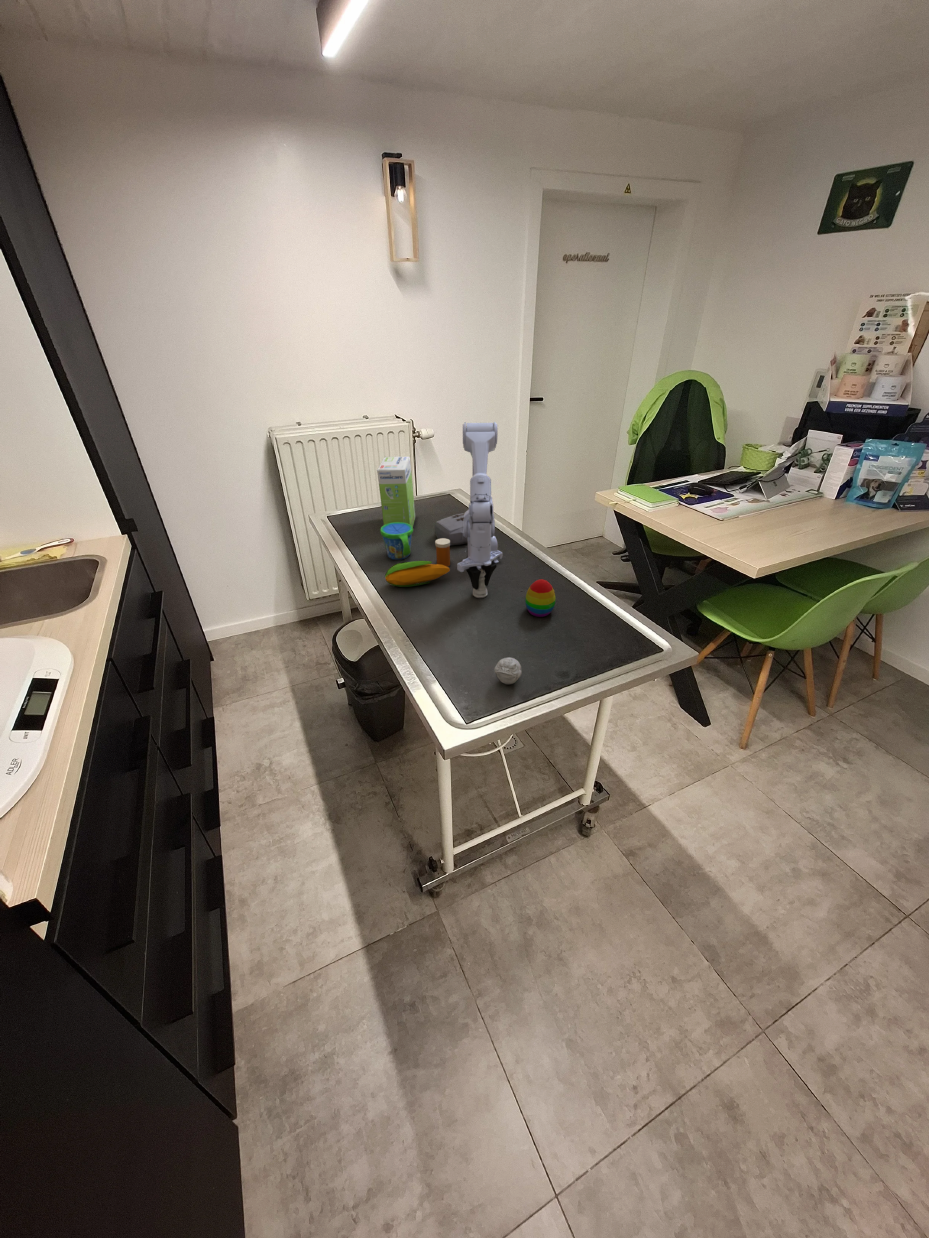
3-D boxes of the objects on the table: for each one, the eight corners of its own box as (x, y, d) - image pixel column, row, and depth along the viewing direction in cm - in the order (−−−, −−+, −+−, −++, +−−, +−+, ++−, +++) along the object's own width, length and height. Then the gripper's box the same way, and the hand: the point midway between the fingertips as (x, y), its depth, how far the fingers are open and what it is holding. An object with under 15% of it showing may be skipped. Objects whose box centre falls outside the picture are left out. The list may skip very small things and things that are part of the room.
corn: (381, 559, 146) (446, 551, 150) (384, 581, 150) (446, 572, 155) (385, 572, 140) (452, 562, 145) (388, 594, 145) (452, 584, 149)
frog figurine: (490, 688, 109) (490, 664, 105) (499, 670, 114) (500, 646, 110) (516, 695, 107) (517, 670, 103) (524, 676, 112) (526, 652, 108)
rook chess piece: (482, 600, 140) (483, 575, 136) (469, 596, 142) (469, 572, 138) (490, 593, 144) (491, 569, 139) (477, 589, 146) (477, 565, 141)
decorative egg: (558, 618, 132) (561, 586, 127) (529, 621, 131) (531, 589, 126) (548, 602, 139) (552, 572, 134) (521, 605, 138) (523, 574, 132)
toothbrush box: (390, 517, 194) (384, 455, 181) (415, 517, 194) (411, 455, 181) (383, 535, 180) (376, 469, 166) (411, 535, 180) (406, 469, 166)
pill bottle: (445, 559, 163) (444, 536, 158) (453, 564, 159) (453, 542, 155) (433, 563, 160) (432, 540, 156) (441, 568, 157) (440, 545, 152)
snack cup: (421, 562, 161) (419, 534, 155) (390, 568, 157) (387, 539, 152) (407, 544, 173) (404, 517, 167) (378, 549, 169) (374, 522, 164)
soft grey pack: (450, 550, 168) (498, 537, 177) (450, 528, 164) (498, 516, 172) (430, 535, 179) (475, 524, 188) (429, 514, 174) (476, 503, 183)
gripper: (467, 555, 128) (467, 599, 135) (510, 542, 135) (508, 584, 142) (452, 546, 133) (453, 589, 140) (494, 533, 139) (493, 575, 147)
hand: (480, 586), depth 141 cm, fingers closed on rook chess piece, 3 cm apart
